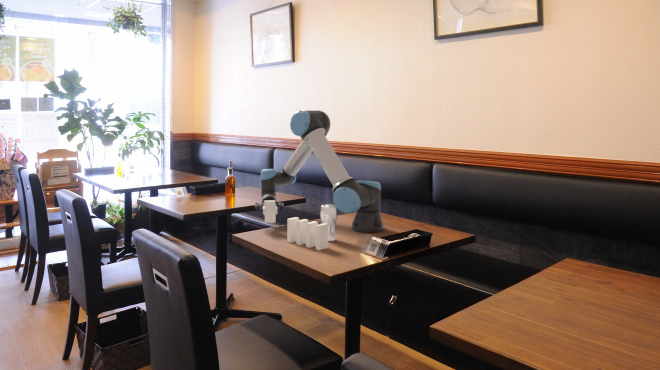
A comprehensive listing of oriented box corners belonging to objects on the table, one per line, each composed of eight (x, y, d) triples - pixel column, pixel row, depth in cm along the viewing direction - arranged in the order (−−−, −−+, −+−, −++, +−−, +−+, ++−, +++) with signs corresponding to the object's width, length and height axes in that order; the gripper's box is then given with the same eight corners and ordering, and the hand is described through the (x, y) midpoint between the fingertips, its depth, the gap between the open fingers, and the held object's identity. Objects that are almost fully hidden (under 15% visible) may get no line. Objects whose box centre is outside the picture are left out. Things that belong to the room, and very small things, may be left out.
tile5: (315, 249, 195) (315, 225, 194) (324, 246, 199) (324, 223, 198) (319, 250, 194) (319, 225, 193) (327, 247, 198) (327, 223, 196)
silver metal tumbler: (339, 239, 212) (339, 205, 210) (331, 242, 206) (331, 207, 204) (325, 236, 215) (326, 203, 213) (317, 240, 209) (317, 206, 207)
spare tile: (264, 222, 224) (264, 200, 223) (275, 221, 225) (275, 200, 223) (264, 222, 222) (264, 201, 221) (275, 222, 223) (275, 201, 221)
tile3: (296, 244, 203) (296, 220, 201) (304, 242, 206) (304, 219, 205) (299, 245, 201) (299, 221, 200) (308, 242, 205) (308, 219, 204)
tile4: (305, 246, 199) (305, 222, 198) (314, 244, 203) (314, 221, 201) (309, 247, 198) (309, 223, 196) (317, 245, 201) (317, 221, 200)
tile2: (287, 241, 206) (287, 218, 205) (295, 239, 210) (295, 217, 209) (290, 242, 205) (290, 219, 204) (299, 240, 209) (299, 217, 207)
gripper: (287, 209, 242) (290, 218, 219) (250, 210, 239) (250, 220, 217) (287, 194, 241) (290, 202, 218) (250, 195, 238) (249, 203, 216)
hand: (270, 211), depth 217 cm, fingers closed on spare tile, 5 cm apart
